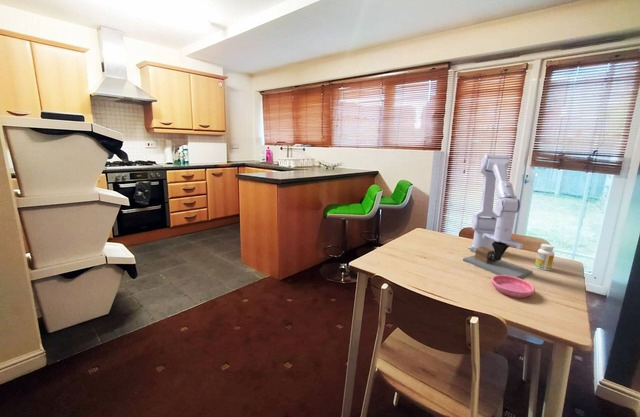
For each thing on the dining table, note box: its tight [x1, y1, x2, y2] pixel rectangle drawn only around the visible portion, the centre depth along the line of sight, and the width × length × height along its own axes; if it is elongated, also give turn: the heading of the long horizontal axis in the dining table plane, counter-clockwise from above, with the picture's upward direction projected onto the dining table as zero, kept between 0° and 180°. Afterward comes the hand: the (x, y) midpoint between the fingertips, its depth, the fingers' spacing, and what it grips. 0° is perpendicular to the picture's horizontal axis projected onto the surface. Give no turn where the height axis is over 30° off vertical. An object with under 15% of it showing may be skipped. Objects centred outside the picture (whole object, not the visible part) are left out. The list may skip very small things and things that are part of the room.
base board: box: [462, 254, 534, 279], centre depth 117 cm, size 14×20×1 cm
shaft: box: [469, 247, 497, 262], centre depth 121 cm, size 4×10×4 cm, turn 29°
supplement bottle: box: [534, 243, 555, 271], centre depth 116 cm, size 5×5×10 cm
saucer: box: [490, 274, 536, 299], centre depth 98 cm, size 12×12×3 cm
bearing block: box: [474, 246, 495, 263], centre depth 121 cm, size 6×5×5 cm
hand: (498, 260), depth 116 cm, fingers closed
